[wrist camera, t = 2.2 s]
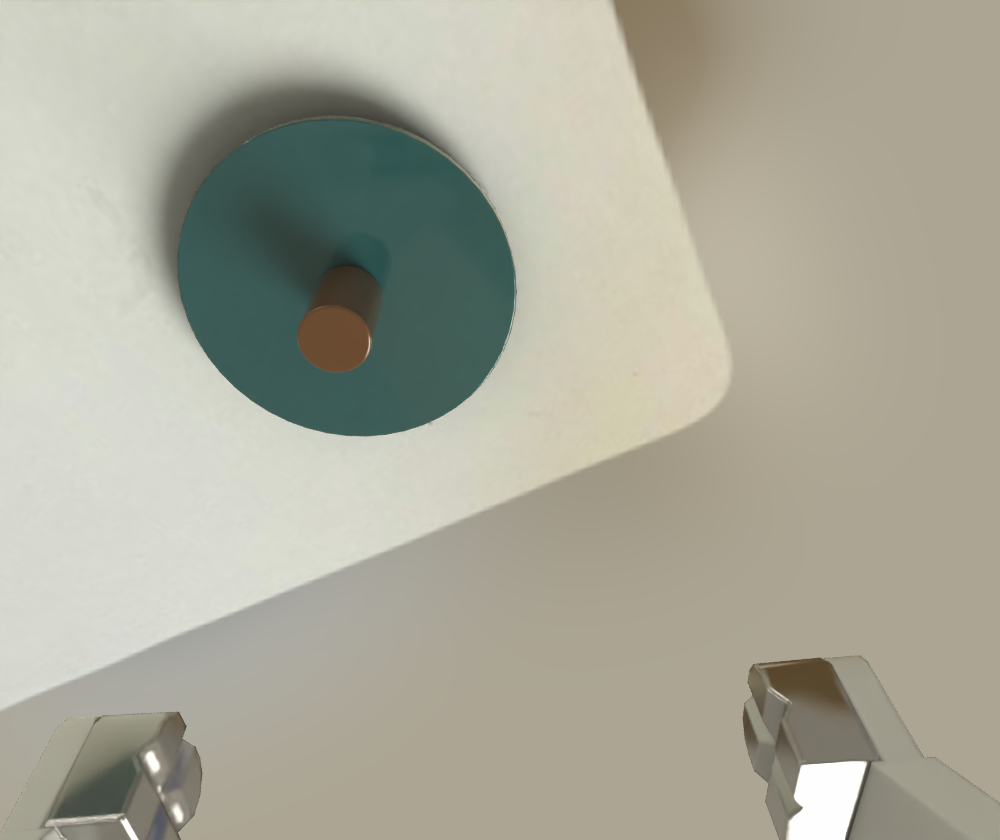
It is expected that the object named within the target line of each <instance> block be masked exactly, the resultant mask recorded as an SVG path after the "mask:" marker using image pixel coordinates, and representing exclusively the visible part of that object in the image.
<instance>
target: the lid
mask: <svg viewBox="0 0 1000 840" xmlns="http://www.w3.org/2000/svg"><path fill="white" fill-rule="evenodd" d="M177 270H178V282H179V288H180V294H181V300H182V303H183V306H184V309H185V312H186V316H187V319H188V321H189V323H190V326H191V328H192V330H193V332H194V334H195V336H196V339H197V340H198V342H199V343H200V345H201V347H202V348H203V350H204V352H205V353H206V355H207V356H208V358H209V359H210V360H211V362H212V363H213V364H214V365H215V367H216V368H217V369H218V370H219V372H220V373H221V374H222V375H223V376H224V377H225V378H226V379H227V380H228V381H229V382H230V383H231V384H232V385H233V386H234V387H235V388H236V389H238V390H239V391H240V392H241V393H243V394H244V395H245V396H246V397H248V398H249V399H250V400H251V401H253V402H254V403H256V404H258V405H259V406H261V407H262V408H264V409H265V410H267V411H269V412H270V413H272V414H274V415H276V416H278V417H281V418H283V419H285V420H287V421H289V422H292V423H294V424H297V425H300V426H303V427H305V428H309V429H313V430H317V431H321V432H325V433H330V434H337V435H344V436H377V435H387V434H392V433H397V432H402V431H406V430H409V429H413V428H416V427H419V426H422V425H424V424H427V423H429V422H431V421H433V420H435V419H437V418H440V417H441V416H443V415H445V414H446V413H448V412H449V411H451V410H453V409H454V408H456V407H457V406H458V405H460V404H461V403H462V402H463V401H465V400H466V399H467V398H468V397H470V396H471V395H472V394H473V393H474V392H475V391H476V390H477V389H478V388H479V387H480V385H481V384H482V383H483V382H484V381H485V380H486V378H487V377H488V376H489V374H490V373H491V371H492V370H493V369H494V367H495V366H496V364H497V362H498V360H499V358H500V356H501V355H502V353H503V351H504V349H505V346H506V343H507V341H508V338H509V335H510V333H511V329H512V324H513V320H514V315H515V307H516V294H517V290H516V274H515V266H514V261H513V256H512V252H511V247H510V243H509V241H508V238H507V235H506V232H505V229H504V226H503V224H502V222H501V220H500V218H499V216H498V214H497V212H496V210H495V208H494V206H493V205H492V203H491V202H490V200H489V199H488V197H487V196H486V194H485V193H484V192H483V190H482V189H481V187H480V186H479V185H478V184H477V183H476V181H475V180H474V179H473V178H472V177H471V176H470V175H469V174H468V173H467V171H466V170H465V169H464V168H463V167H461V166H460V165H459V164H458V163H457V162H456V161H454V160H453V159H452V158H451V157H450V156H449V155H447V154H446V153H445V152H443V151H442V150H440V149H439V148H437V147H436V146H434V145H433V144H431V143H430V142H428V141H427V140H425V139H423V138H421V137H419V136H417V135H415V134H412V133H410V132H408V131H406V130H404V129H401V128H398V127H396V126H393V125H390V124H387V123H384V122H381V121H376V120H370V119H365V118H360V117H351V116H333V115H331V116H319V117H307V118H303V119H299V120H294V121H290V122H285V123H282V124H280V125H277V126H275V127H272V128H270V129H267V130H265V131H262V132H260V133H259V134H257V135H255V136H254V137H252V138H250V139H248V140H247V141H245V142H243V143H242V144H241V145H239V146H238V147H237V148H236V149H234V150H233V151H232V152H231V153H229V154H228V155H227V156H226V157H224V158H223V159H222V160H221V161H220V162H219V163H218V164H217V165H216V166H215V167H214V169H213V170H212V171H211V172H210V173H209V174H208V175H207V176H206V178H205V179H204V181H203V182H202V184H201V185H200V187H199V188H198V190H197V191H196V193H195V194H194V197H193V199H192V201H191V203H190V205H189V208H188V210H187V212H186V214H185V218H184V221H183V225H182V229H181V232H180V237H179V245H178V253H177Z"/></svg>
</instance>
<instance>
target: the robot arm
mask: <svg viewBox="0 0 1000 840" xmlns="http://www.w3.org/2000/svg"><path fill="white" fill-rule="evenodd" d="M748 684H749V687H750V689H751V692H752V697H750V698H749V699H748V700H747V701H746V702H745V703H744V712H743V726H744V736H745V741H746V746H747V749H748V754H749V757H750V760H751V763H752V765H753V768H754V771H755V772H756V773H757V774H758V775H760V776H761V777H762V778H763V779H764V780H765V781H767V782H768V789H767V795H766V801H765V802H766V805H767V807H768V810H769V812H770V815H771V818H772V821H773V824H774V826H775V829H776V832H777V835H778V837H779V840H1000V803H999V802H998V801H997V800H995V799H994V798H992V797H991V796H989V795H988V794H987V793H985V792H984V791H982V790H981V789H980V788H978V787H977V786H975V785H974V784H973V783H971V782H970V781H968V780H967V779H965V778H964V777H963V776H961V775H960V774H958V773H957V772H956V771H954V770H953V769H951V768H950V767H949V766H947V765H946V764H944V763H943V762H941V761H940V760H939V759H937V758H936V757H928V758H924V756H923V755H922V753H921V751H920V750H919V748H918V746H917V745H916V743H915V741H914V740H913V738H912V736H911V734H910V733H909V731H908V729H907V728H906V726H905V724H904V722H903V721H902V719H901V718H900V716H899V714H898V712H897V711H896V709H895V707H894V705H893V704H892V702H891V701H890V699H889V697H888V695H887V694H886V692H885V690H884V688H883V687H882V685H881V683H880V682H879V680H878V679H877V677H876V675H875V673H874V671H873V670H872V668H871V666H870V665H869V663H868V661H867V660H865V659H864V658H863V657H862V656H846V657H834V658H824V659H822V658H813V659H802V660H792V661H781V662H772V663H771V662H770V663H760V664H753V666H752V667H751V668H750V671H749V676H748ZM185 729H186V725H185V723H184V721H183V719H182V717H181V715H180V713H179V712H160V713H141V714H123V715H105V716H90V717H76V718H67V719H66V720H65V721H64V722H63V723H62V724H61V725H60V726H59V727H57V729H56V730H55V732H54V734H53V736H52V738H51V740H50V741H49V743H48V745H47V747H46V749H45V751H44V753H43V754H42V756H41V758H40V760H39V762H38V764H37V765H36V767H35V769H34V771H33V773H32V775H31V777H30V778H29V780H28V782H27V784H26V786H25V788H24V790H23V791H22V793H21V795H20V797H19V799H18V801H17V802H16V804H15V806H14V808H13V810H12V812H11V814H10V816H9V817H8V819H7V821H6V823H5V825H4V827H3V828H2V830H1V831H0V840H181V839H180V837H179V834H178V832H179V831H180V830H181V829H182V828H183V827H184V826H185V825H186V824H187V822H188V821H189V820H190V819H191V818H192V817H193V816H194V814H195V811H196V808H197V804H198V801H199V798H200V792H201V781H202V768H201V762H200V757H199V754H198V752H197V750H196V747H195V746H193V745H191V744H190V743H189V742H187V741H185V740H184V739H182V737H183V735H184V732H185Z"/></svg>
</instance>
